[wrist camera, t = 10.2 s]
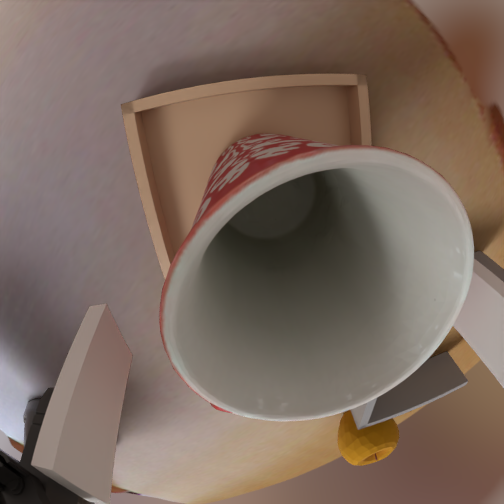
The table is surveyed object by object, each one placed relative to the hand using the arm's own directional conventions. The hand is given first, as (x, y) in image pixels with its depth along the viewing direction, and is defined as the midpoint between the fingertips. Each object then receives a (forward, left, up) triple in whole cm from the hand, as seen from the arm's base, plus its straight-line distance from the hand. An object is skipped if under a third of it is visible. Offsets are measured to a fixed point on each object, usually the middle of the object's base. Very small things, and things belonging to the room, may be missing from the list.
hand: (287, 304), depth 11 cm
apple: (+11, -31, -11) cm, 35 cm away
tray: (0, 0, -11) cm, 11 cm away
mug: (0, 0, -10) cm, 10 cm away
